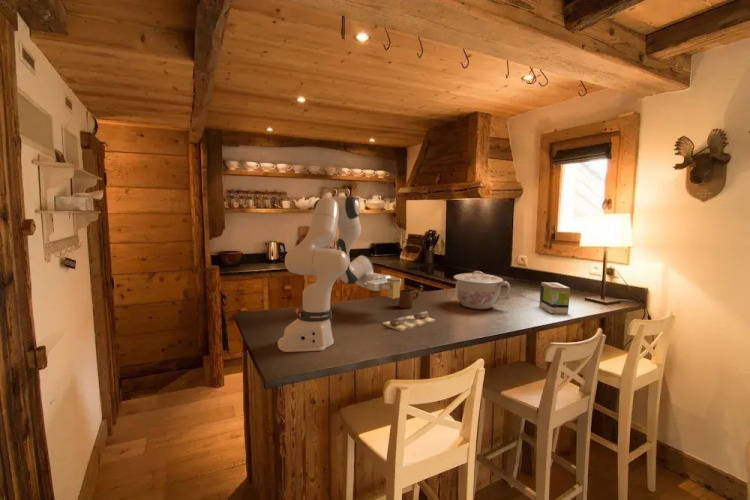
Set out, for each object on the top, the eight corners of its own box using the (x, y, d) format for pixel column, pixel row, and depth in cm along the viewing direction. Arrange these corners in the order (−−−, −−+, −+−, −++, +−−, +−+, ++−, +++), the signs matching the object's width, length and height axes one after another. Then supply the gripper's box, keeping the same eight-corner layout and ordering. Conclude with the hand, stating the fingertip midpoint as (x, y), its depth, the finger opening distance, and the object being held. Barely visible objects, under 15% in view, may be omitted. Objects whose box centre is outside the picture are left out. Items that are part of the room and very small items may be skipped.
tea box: (568, 314, 202) (571, 287, 200) (550, 313, 202) (552, 287, 200) (556, 306, 216) (558, 281, 215) (538, 306, 217) (540, 281, 215)
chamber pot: (442, 302, 220) (444, 268, 218) (479, 298, 232) (481, 266, 229) (473, 315, 195) (475, 277, 192) (513, 310, 206) (515, 273, 204)
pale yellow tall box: (392, 298, 182) (393, 279, 181) (386, 296, 186) (387, 278, 184) (399, 297, 185) (400, 278, 184) (393, 295, 189) (393, 277, 187)
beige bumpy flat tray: (400, 331, 168) (400, 323, 168) (383, 324, 178) (383, 316, 177) (435, 321, 184) (435, 313, 184) (417, 315, 193) (417, 308, 193)
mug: (414, 304, 216) (415, 288, 215) (421, 307, 209) (422, 291, 208) (396, 306, 211) (396, 289, 210) (402, 309, 204) (403, 292, 203)
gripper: (361, 278, 187) (379, 282, 177) (390, 274, 201) (409, 278, 190) (360, 290, 188) (378, 295, 178) (390, 285, 201) (408, 290, 191)
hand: (394, 286), depth 184 cm, fingers closed on pale yellow tall box, 4 cm apart
